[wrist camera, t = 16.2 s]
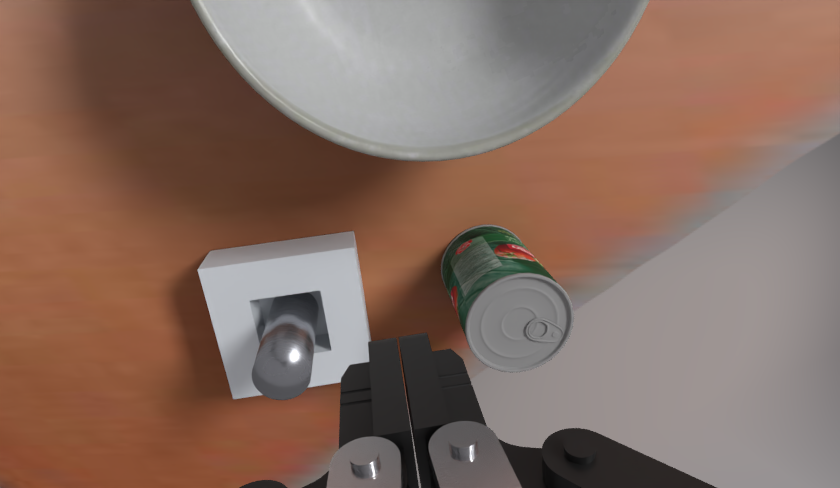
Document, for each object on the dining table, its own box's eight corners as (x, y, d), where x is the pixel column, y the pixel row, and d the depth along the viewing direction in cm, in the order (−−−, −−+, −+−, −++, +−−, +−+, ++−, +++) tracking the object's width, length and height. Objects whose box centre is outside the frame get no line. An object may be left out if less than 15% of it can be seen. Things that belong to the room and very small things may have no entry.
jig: (244, 379, 49) (235, 407, 46) (210, 250, 45) (197, 269, 41) (374, 359, 50) (376, 384, 47) (353, 230, 46) (354, 247, 42)
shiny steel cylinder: (276, 333, 47) (258, 404, 38) (266, 292, 46) (245, 355, 36) (322, 326, 47) (315, 394, 38) (314, 285, 46) (305, 346, 37)
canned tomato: (427, 291, 49) (448, 357, 38) (460, 212, 46) (491, 260, 36) (506, 314, 50) (545, 384, 40) (541, 239, 48) (592, 292, 38)
